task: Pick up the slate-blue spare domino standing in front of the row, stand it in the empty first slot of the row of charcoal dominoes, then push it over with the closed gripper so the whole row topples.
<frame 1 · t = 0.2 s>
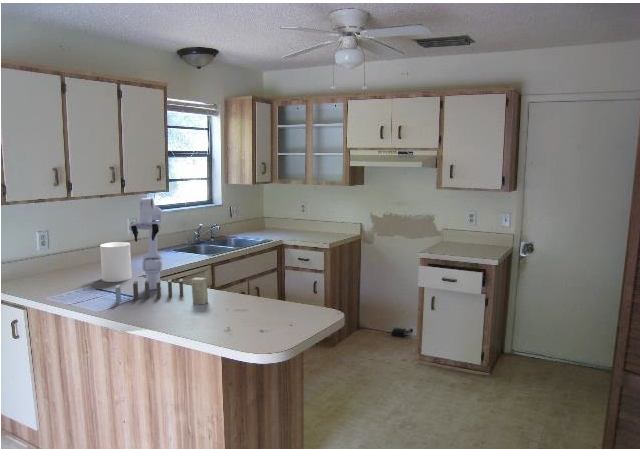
hand: (144, 239, 237), 31 cm above the worktop, tool tilted 45°, fingers open, 7 cm apart
skincare box: (200, 303, 242), on the worktop
spare domino: (118, 302, 243), on the worktop
domino 3: (147, 297, 251), on the worktop
domino 2: (136, 298, 249), on the worktop
domino 4: (159, 296, 252), on the worktop
domino 5: (170, 295, 253), on the worktop
canister: (117, 278, 289), on the worktop
domino 6: (181, 295, 255), on the worktop
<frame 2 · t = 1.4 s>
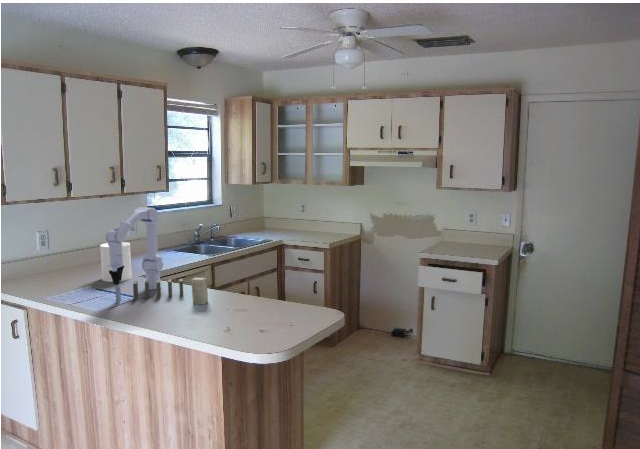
hand: (117, 282, 241), 10 cm above the worktop, tool pointing down, fingers open, 7 cm apart
nothing on the worktop moved.
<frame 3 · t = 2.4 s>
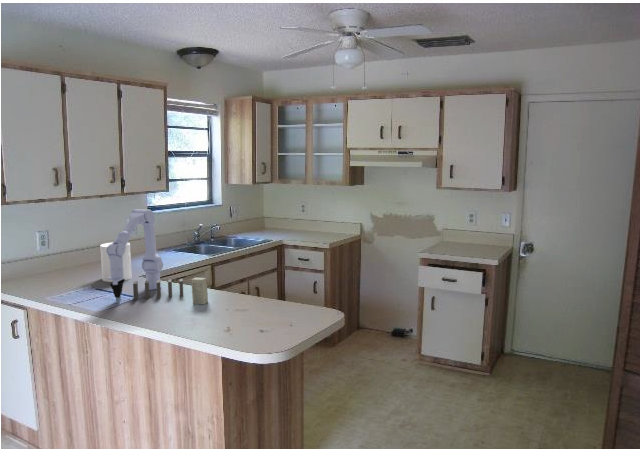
hand: (118, 295, 242), 3 cm above the worktop, tool pointing down, fingers closed on spare domino, 5 cm apart
spare domino: (118, 302, 243), on the worktop, touching gripper
everything else where it was.
when the fingers open (4 cm above the worktop, at t = 5.7 s): spare domino stays where it is, on the worktop.
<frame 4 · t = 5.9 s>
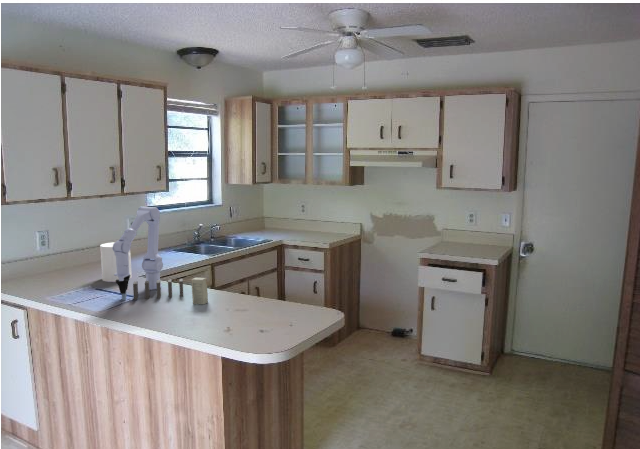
hand: (124, 291, 248), 4 cm above the worktop, tool pointing down, fingers open, 6 cm apart
spare domino: (124, 298, 248), on the worktop
everything else where it was.
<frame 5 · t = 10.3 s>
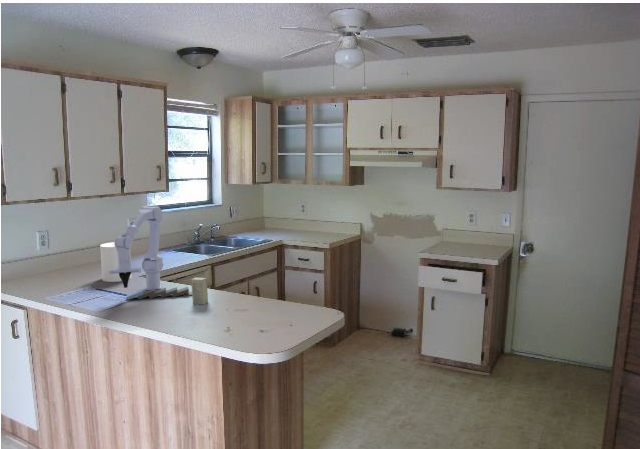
hand: (125, 287, 247), 6 cm above the worktop, tool pointing down, fingers closed
spare domino: (127, 297, 248), point 1 cm above the worktop, tilted 73°
domino 3: (150, 295, 251), point 1 cm above the worktop, tilted 73°, touching domino 2, domino 4
domino 2: (138, 296, 250), point 1 cm above the worktop, tilted 73°, touching domino 3
domino 4: (161, 295, 252), point 1 cm above the worktop, tilted 74°, touching domino 3, domino 5
domino 5: (172, 294, 254), point 1 cm above the worktop, tilted 74°, touching domino 4
domino 6: (183, 295, 255), on the worktop, tilted 89°
everything else where it was.
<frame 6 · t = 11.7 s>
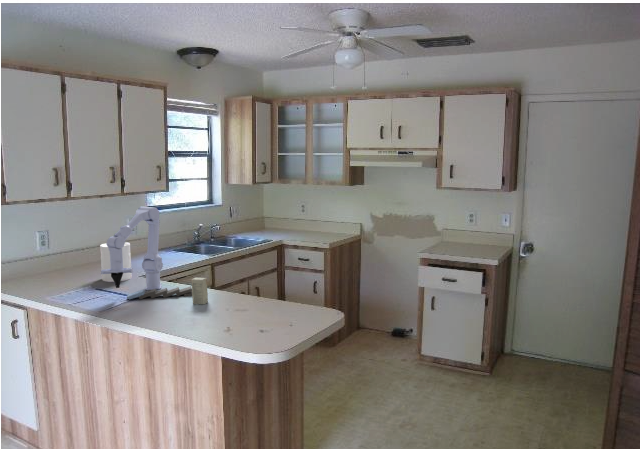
hand: (117, 287, 246), 6 cm above the worktop, tool pointing down, fingers closed
spare domino: (127, 297, 248), point 1 cm above the worktop, tilted 74°, touching domino 2
domino 2: (139, 296, 250), point 1 cm above the worktop, tilted 73°, touching domino 3, spare domino
domino 4: (163, 295, 252), point 1 cm above the worktop, tilted 74°, touching domino 3, domino 5
domino 5: (176, 293, 254), point 1 cm above the worktop, tilted 76°, touching domino 4, domino 6
domino 6: (184, 294, 255), on the worktop, tilted 90°, touching domino 5
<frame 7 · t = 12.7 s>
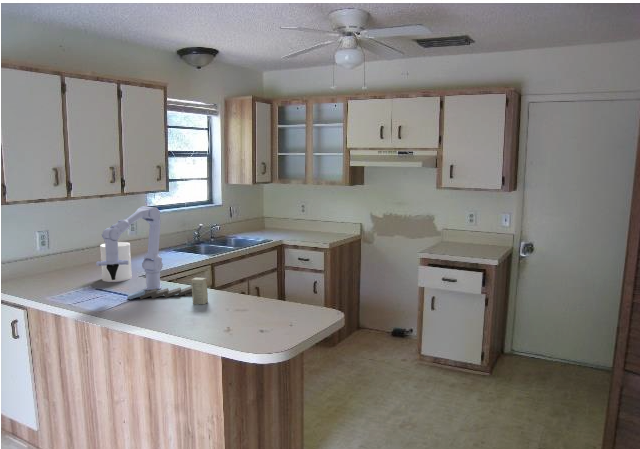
hand: (113, 279, 245), 10 cm above the worktop, tool pointing down, fingers closed
domino 5: (178, 293, 255), point 1 cm above the worktop, tilted 74°, touching domino 4, domino 6
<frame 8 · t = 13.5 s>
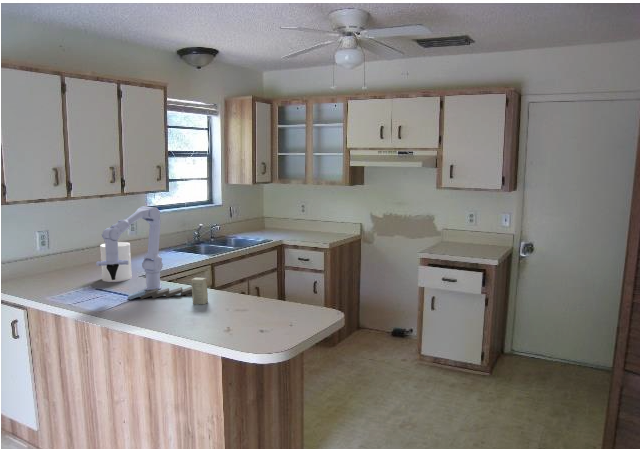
hand: (113, 279, 245), 10 cm above the worktop, tool pointing down, fingers closed
domino 5: (180, 292, 255), point 1 cm above the worktop, tilted 75°, touching domino 4
domino 6: (186, 294, 256), on the worktop, tilted 90°
at the end: domino 6 tilted 90°; spare domino tilted 74°; spare domino inside the target area (0.9 cm from its centre), point 0.7 cm above the worktop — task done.
